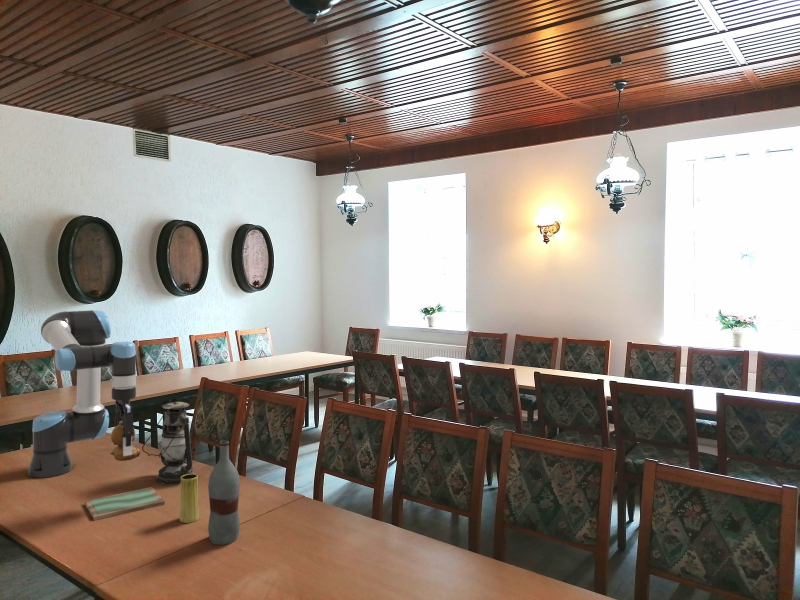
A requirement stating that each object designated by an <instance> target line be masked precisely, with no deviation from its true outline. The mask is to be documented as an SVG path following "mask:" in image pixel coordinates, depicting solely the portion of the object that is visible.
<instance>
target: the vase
mask: <svg viewBox="0 0 800 600" xmlns="http://www.w3.org/2000/svg"><path fill="white" fill-rule="evenodd" d="M198 476H199V475H198V474H196V473H194V474H186V475H183V476H181V483H180V501H179V502H180V505H179V522H180V523H183V524H190V523H194V522H196V521H199V519H200V514H199V510H200V509H199V479H198Z"/></svg>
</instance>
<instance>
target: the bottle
mask: <svg viewBox="0 0 800 600" xmlns="http://www.w3.org/2000/svg"><path fill="white" fill-rule="evenodd" d="M229 443H230V441H229V440H221V441H219V460H218V461H217V462H216V464H215V466H214V468H213V469H212V471H211V472H210V475H209V477H208V488H207V490H208V497H209V511H210V512H209V518H208V526H207V530H208V531H207V532H208V538H209V540H210V542H211V543H212V544H213V545H217V546H221V545H229V544H232V543H234V542H235V541H237V540H238V538H239V534H240V526H241V522H240V514H239V499H240V498H239V497H240V488H241V481H240V474H239V471H238V470H237V468H236V467H235V466H234V464H233V462H232V461H231V459H230V456H229V455H230V453H229V452H230V451H229V450H230V449H229Z"/></svg>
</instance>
